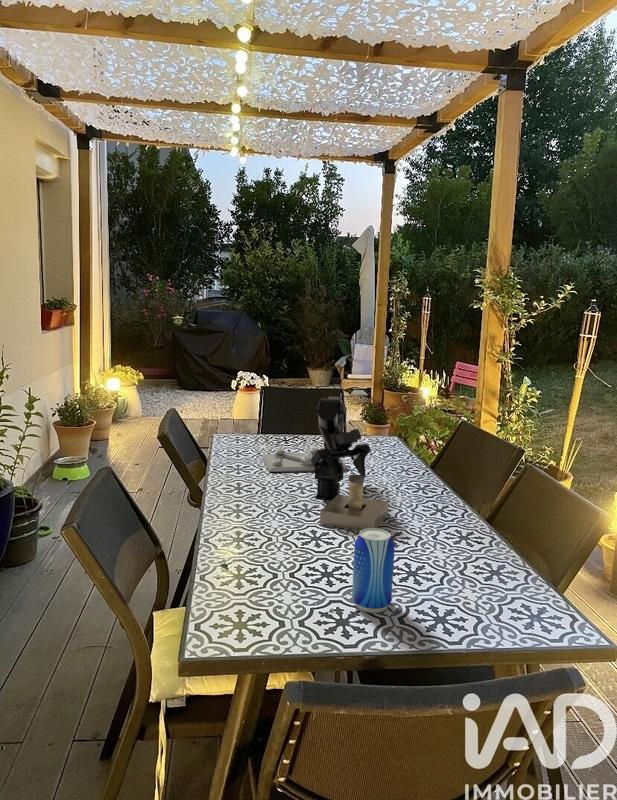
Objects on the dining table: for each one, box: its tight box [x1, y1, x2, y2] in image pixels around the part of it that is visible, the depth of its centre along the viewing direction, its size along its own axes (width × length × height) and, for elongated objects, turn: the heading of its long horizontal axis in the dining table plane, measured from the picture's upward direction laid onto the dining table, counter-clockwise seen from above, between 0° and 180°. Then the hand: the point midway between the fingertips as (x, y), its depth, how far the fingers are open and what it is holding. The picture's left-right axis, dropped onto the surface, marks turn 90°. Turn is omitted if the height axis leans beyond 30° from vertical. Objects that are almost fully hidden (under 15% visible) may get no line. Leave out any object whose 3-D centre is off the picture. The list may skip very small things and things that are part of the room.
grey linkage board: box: [261, 446, 349, 473], centre depth 242 cm, size 30×22×7 cm
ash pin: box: [348, 474, 366, 511], centre depth 184 cm, size 5×5×13 cm
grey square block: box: [319, 494, 389, 532], centre depth 185 cm, size 16×16×4 cm
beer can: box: [351, 528, 396, 614], centre depth 133 cm, size 8×8×16 cm
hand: (351, 479), depth 185 cm, fingers open, 9 cm apart
